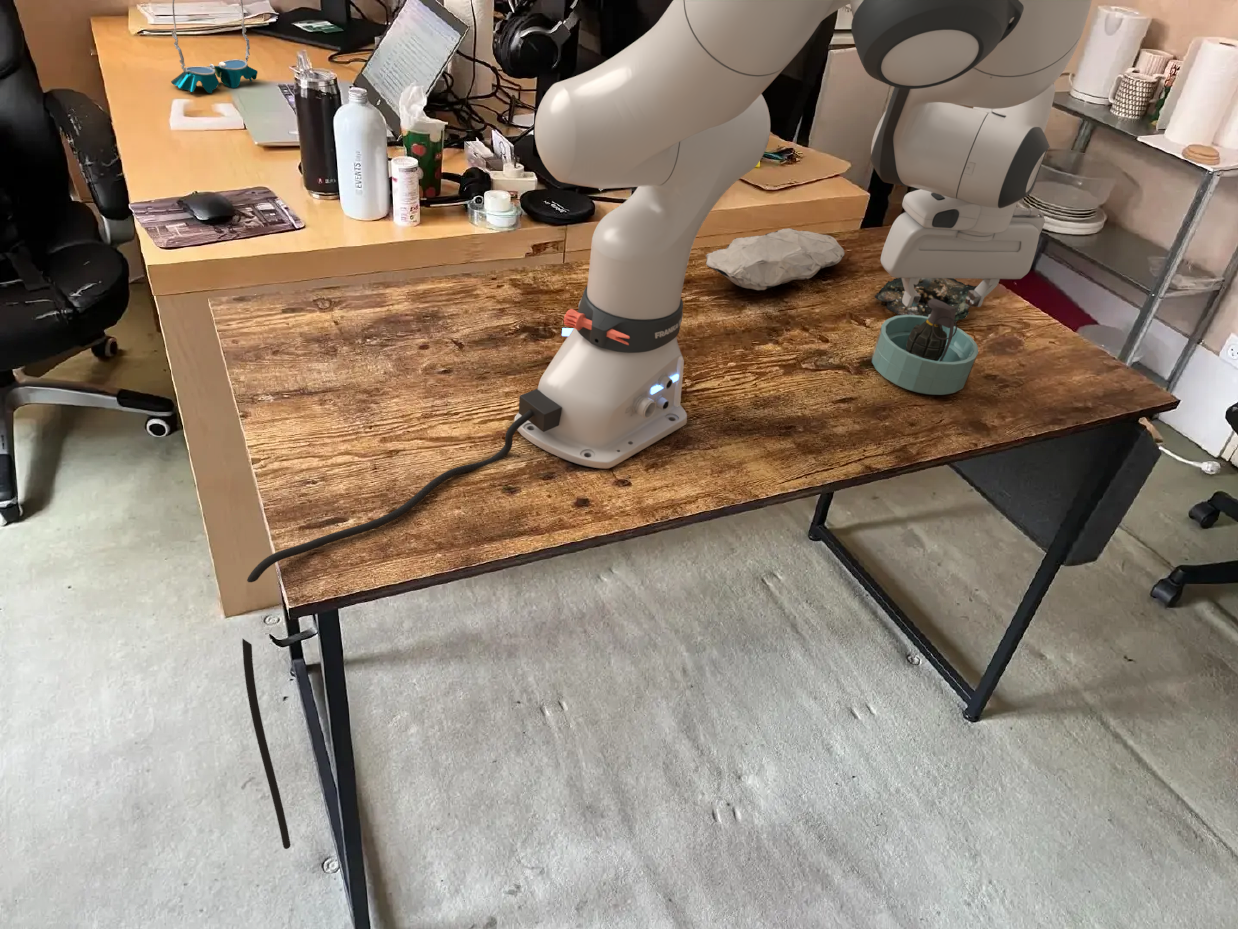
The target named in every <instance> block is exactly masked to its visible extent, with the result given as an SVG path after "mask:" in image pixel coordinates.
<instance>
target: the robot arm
mask: <svg viewBox="0 0 1238 929" xmlns="http://www.w3.org/2000/svg"><path fill="white" fill-rule="evenodd" d="M1092 1H1093V0H672V1H671V3H670V4H669V6H668V7H667V8H666V9H665V11H664V13H663V14H662V15H661V17H660V18H659V20H658V21H657V22H656V23H655V24H654V25H653V26H652V27H651V28H650V29H649V30H648V31H647V32H645V33H644V34H643V35H642V36H640V37H639V38H638V39H636V40H635V41H634V42H632V43H631V44H629V45H628V46H626V47H625V48H624V49H621V51H619V52H618V53H616V54H615V55H614V56H612V57H610V58H609V59H607V60H605V61H604V62H602V63H601V64H599V65H597V66H595V67H593V68H591V69H589V70H587V71H585V72H582V73H580V74H577V75H576V76H572V77H569V78H567V79H564V80H560V81H558V82H554V83H553V84H552V85H551V86H550V87H549V89H547V91H546V92H545V94H544V96H543V97H542V99H541V101H540V103H539V106H538V108H537V111H536V115H535V118H534V140H535V141H534V142H535V145H536V150H537V153H538V155H539V157H540V160H541V162H542V164H543V165H544V167H545V168H546V170H547V171H548V172H549V174H550V175H551V176H552V177H553V178H554V179H555V180H556V181H558V182H560V183H565V184H569V185H575V186H580V187H588V188H594V189H602V190H603V189H604V190H605V189H606V190H607V189H621V188H623V189H625V188H636V189H635V190H634V192H633V193H632V194H631V195H630V196H629V197H628V198H627V199H626V200H625V201H624V202H623V203H622V204H620V205H618V206H617V207H615V208H613V209H612V210H610V211H609V212H608V213H606V214H605V215H604V216H603V217H602V218H601V219H600V220H599V222H598V224H597V225H596V227H595V229H594V231H593V234H592V236H591V245H590V246H591V247H590V255H589V267H588V275H587V276H588V277H587V285H586V286H585V288H584V290H583V293H582V296H581V298H580V300H579V302H578V306H577V307H578V309H577V310H575V309H573V308H569V309H568V310H566V313H565V315H564V317H563V324H564V326H565V327H562V328H561V329H562V330H561V336H562V337H566V338H565V340H564V341H563V343H562V344H561V345H560V347H559V349H558V350H557V352H556V354H555V355H554V356H553V358H552V359H551V361H550V363H549V364H548V366H547V367H546V369H545V371H544V372H543V374H542V375H541V377H540V379H539V382H538V386H537V388H535V389H532V390H530V391H528V392H525V393H523V394H520V395H519V400H518V412H517V413H516V415H515V416H514V420H513V422H512V424H511V425H510V426H509V427H508V429H507V431H506V432H505V435H504V436H505V437H504V444H503V447H502V448H501V449H500V450H499V451H497V453H496V454H495V455H493V456H491V457H489V458H487V459H485V460H482V461H478V462H473V463H468V464H465V465H460V466H457V467H454V468H451V469H448V470H447V471H445V472H442V473H440V475H438V476H436V477H435V478H433V479H432V480H431V481H429V482H428V483H427V484H426V485H424V487H422V488H421V489H420V490H418V492H417V493H416V494H414V495H413V497H411V498H410V499H409V500H407V501H405V503H404V504H402V505H401V506H399V507H397V508H396V509H394V510H392V511H390V512H389V513H387V514H385V515H382V516H381V517H378V518H375V519H373V520H371V521H367V522H365V523H362V524H359V525H355V526H352V527H349V528H345V529H342V530H338V531H335V532H332V533H329V534H325V535H323V536H320V537H318V538H315V539H313V540H310V541H307V542H304V543H302V544H298V545H295V546H291V547H288V548H285V549H281V550H279V551H277V552H274V553H272V554H270V555H269V556H267V557H265V558H264V559H262V560H261V561H260V562H258V564H257V565H256V566H255V567H254V568H253V569H252V570H251V572H250V574H249V575H248V577H247V579H246V581H247V583H255V582H256V581H258V580H259V578H260V577H261V576H262V575H263V573H264V572H265V571H266V570H268V568H270V567H271V566H273V565H274V564H276V563H278V562H279V561H282V560H285V559H288V558H291V557H295V556H298V555H301V554H304V553H307V552H310V551H312V550H314V549H318V548H320V547H323V546H325V545H328V544H331V543H334V542H336V541H340V540H343V539H347V538H350V537H354V536H356V535H360V534H363V533H366V532H370V531H373V530H375V529H378V528H381V527H382V526H385V525H387V524H389V523H391V522H393V521H395V520H397V519H398V518H400V517H402V516H403V515H405V514H406V513H408V512H409V511H411V510H412V509H414V507H416V506H417V505H418V504H419V503H420V502H422V501H423V499H424V498H426V497H427V496H428V495H430V493H432V491H434V490H435V489H436V488H437V487H439V486H440V485H441V484H443V483H445V482H446V481H448V480H449V479H452V478H453V477H456V476H459V475H462V474H466V473H470V472H472V471H475V470H478V469H480V468H483V467H484V466H487V465H489V464H493V463H495V462H498V461H501V459H503V458H505V457H506V456H507V454H509V452H510V451H511V450H512V447H513V438H514V435H515V433H516V432H518V433H519V434H520V435H521V436H522V437H523V438H524V439H525V440H527V441H528V442H530V443H531V444H533V445H534V446H536V447H538V448H539V449H541V450H543V451H546V452H548V453H549V454H551V455H554V456H557V457H558V458H560V459H562V460H565V461H568V462H571V463H574V464H577V465H580V466H583V467H589V468H596V469H610V468H614V467H616V466H617V465H619V464H621V463H622V462H624V461H626V460H627V459H629V458H631V457H633V456H634V455H636V454H638V453H639V452H641V451H642V450H644V449H646V448H648V447H650V446H651V445H653V444H655V443H656V442H658V441H660V440H662V439H663V438H666V437H667V436H668V435H670V434H672V433H674V432H675V431H678V430H679V429H681V428H683V427H684V426H686V425H687V423H688V413H687V411H686V410H685V409H684V408H683V406H682V405H681V399H682V388H683V381H684V380H683V378H684V366H685V360H684V356H683V353H682V351H681V349H680V345H679V342H678V338H677V336H678V335H679V333H680V330H681V324H682V321H683V316H684V311H683V310H684V301H683V298H682V293H683V288H684V284H685V278H686V273H687V269H688V264H689V262H690V261H689V260H690V256H691V252H692V248H693V246H694V243H695V240H696V238H697V235H698V233H699V231H700V229H701V228H702V226H703V224H704V222H705V220H706V219H707V217H708V216H709V214H710V212H711V211H712V210H713V208H714V207H715V205H716V204H717V203H718V201H719V200H720V199H721V198H722V196H723V195H724V194H726V193H727V191H728V190H729V189H730V188H731V187H732V186H733V185H734V184H735V183H736V182H738V181H739V180H740V179H741V178H743V177H744V176H745V175H747V174H748V173H750V172H752V171H753V170H754V169H755V168H756V167H757V166H758V164H759V163H760V162H761V160H762V158H763V156H764V155H765V152H766V149H767V148H768V144H769V140H770V135H771V116H770V112H769V107H768V104H767V102H766V100H765V98H764V96H763V93H764V91H765V90H766V89H767V88H768V87H769V86H770V85H771V84H772V83H773V81H774V80H776V78H777V77H778V76H780V74H781V73H782V72H783V70H784V69H785V68H786V67H787V66H788V65H789V64H790V63H791V62H792V61H793V59H794V58H795V57H796V56H797V55H798V54H799V52H800V51H801V50H802V49H803V48H804V47H805V45H806V43H807V42H808V41H809V39H810V38H811V37H812V35H813V34H814V33H815V31H816V30H817V28H818V27H819V25H820V24H821V22H822V21H823V20H825V19H826V18H828V17H829V16H830V15H832V14H833V13H835V12H837V11H838V10H840V9H842V8H844V7H846V6H848V5H850V10H851V14H852V20H851V25H850V28H851V35H852V38H853V42H854V46H855V49H856V53H857V55H858V58H859V61H860V62H861V65H862V67H863V68H864V71H865V72H866V73H867V75H868V76H870V77H871V78H872V79H874V80H877V81H879V82H881V83H883V84H886V85H887V86H890V87H892V88H893V90H892V93H891V96H890V98H889V102H888V105H887V108H886V110H885V111H884V112H883V115H882V116H881V118H880V119H879V121H878V123H877V126H876V128H875V130H874V134H873V137H872V141H871V145H870V146H871V148H870V162H871V164H872V167H873V169H874V170H875V172H876V174H877V175H878V177H879V179H880V180H881V181H882V182H883V183H887V184H892V185H896V186H903V187H911V188H915V189H916V190H913V191H910V192H908V193H906V194H905V195H904V197H903V199H902V203H901V206H902V209H904V211H905V212H902V213H901V214H900V215H898V216H897V217H896V218H895V220H894V221H893V223H892V225H891V227H890V229H889V232H888V235H887V237H886V239H885V242H884V244H883V248H882V251H881V255H880V263H881V266H882V268H883V269H884V270H885V271H886V272H887V274H889V276H890V277H892V278H893V279H896V278H902V282H903V286H904V289H905V292H904V295H903V298H902V302H903V304H904V305H905V306H906V307H917V306H918V302H919V301H920V298H921V296H920V294H918V293H917V291H916V290H914V285H917V284H918V282H919V279H920V278H954V279H967V280H970V279H972V280H974V279H976V280H977V279H978V280H979V279H981V282H979V284H977V285H976V286H977V287H976V288H975V290H969V291H968V294H967V297H966V299H965V302H966V304H967V305H968V306H969V308H981V307H982V305H983V302H984V300H985V297H987V296H988V295H989V294H990V293H991V292H992V291H993V290H994V289H996V287H997V286H998V285H999V282H1000V280H1021V279H1023V278H1024V277H1025V276H1026V275H1027V274H1028V273H1029V272H1030V270H1031V269H1032V265H1033V263H1034V259H1035V255H1036V253H1037V249H1038V245H1039V244H1038V243H1039V240H1040V235H1041V233H1042V231H1043V229H1044V225H1045V222H1046V219H1045V215H1044V214H1043V212H1042V211H1040V209H1039V208H1036V207H1026V208H1025V207H1017V206H1018V203H1019V201H1021V200H1023V199H1024V198H1026V197H1028V196H1029V195H1031V193H1032V192H1033V191H1034V188H1035V185H1036V182H1037V178H1038V175H1039V173H1040V170H1041V167H1042V164H1043V162H1044V159H1045V157H1046V155H1047V152H1048V150H1049V149H1050V144H1049V141H1048V139H1047V136H1046V134H1045V132H1046V129H1047V126H1048V122H1049V119H1050V115H1051V112H1052V107H1053V102H1054V98H1055V94H1056V84H1055V83H1056V81H1057V80H1058V79H1059V78H1060V76H1062V74H1063V73H1064V72H1065V70H1066V68H1067V66H1068V65H1069V63H1070V61H1071V60H1072V58H1073V56H1074V55H1075V52H1076V50H1077V48H1078V46H1079V43H1080V41H1081V38H1082V35H1083V33H1084V30H1085V27H1086V23H1087V20H1088V17H1089V14H1090V10H1091V6H1092ZM241 641H242V642H241V644H242V645H241V646H242V660H243V672H244V678H245V687H246V693H247V700H248V706H249V709H250V715H251V719H252V724H253V728H254V733H255V736H256V742H257V745H258V748H259V752H260V756H261V760H262V761H261V762H262V764H263V767H264V772H265V775H266V780H267V782H268V787H269V791H270V794H271V798H272V802H273V806H274V809H275V814H276V818H277V824H278V828H279V831H280V837H281V842H282V847H283V849H284V850H288V849H290V848H291V845H292V844H291V839H290V834H289V830H288V829H289V828H288V824H287V820H286V816H285V812H284V807H283V806H284V805H283V802H282V798H281V795H280V790H279V789H280V788H279V786H278V782H277V777H276V774H275V770H274V766H273V762H272V758H271V755H270V750H269V746H268V742H267V737H266V734H265V729H264V724H263V720H262V715H261V709H260V705H259V701H258V699H259V698H258V693H257V688H256V681H255V672H254V670H255V669H254V661H253V644H252V643H250V642H249V641H247V640H246V639H244V638H242V640H241Z"/></svg>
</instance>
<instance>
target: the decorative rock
mask: <svg viewBox="0 0 1238 929" xmlns="http://www.w3.org/2000/svg"><path fill="white" fill-rule="evenodd" d="M977 286H978V285H971V284H965V283H963V282H962V281H958V280H957V278H920V279H919V282H918V284H917V285H914V290H916V291H917V293H918V294H920V296H921V298H920V301H919V302H918V306H917V307H906V306H905V305H904V304H903V302H902V298H903V295H904V292H905V289H904V286H903V282H902V278H893V279H892V280H888V281H887V282H885V284H884V286H883V287H881V289H880V290H879V291H878V292H877V293H876V294H875V295H874V298H875V300H878V301H880V302H883V303H886V309H887V310H889V311H891V312H893V313H895V314H897V315H898V316H900V315H920V316H925V317H930V315H931V312H932V308H930V307H929V306H928V305H926V304H927V302H928V301H930V300H931V299H937V300H939V301H942V302H944V303H946V304H947V305H949V306H951V307H953V308H955V310H956V313H955V319H954V321H955V322H956V323H957V322H958V321H960V320H965V319H966V318H967V316H969V315H970V312H969V308H970V307H969V306H968V305H967V304H966V302H965V299H966V297H967V294H968V291H969V290H975V288H976V287H977Z"/></svg>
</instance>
